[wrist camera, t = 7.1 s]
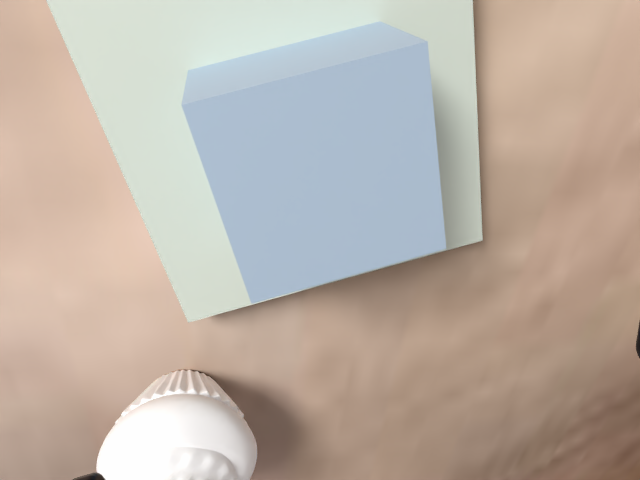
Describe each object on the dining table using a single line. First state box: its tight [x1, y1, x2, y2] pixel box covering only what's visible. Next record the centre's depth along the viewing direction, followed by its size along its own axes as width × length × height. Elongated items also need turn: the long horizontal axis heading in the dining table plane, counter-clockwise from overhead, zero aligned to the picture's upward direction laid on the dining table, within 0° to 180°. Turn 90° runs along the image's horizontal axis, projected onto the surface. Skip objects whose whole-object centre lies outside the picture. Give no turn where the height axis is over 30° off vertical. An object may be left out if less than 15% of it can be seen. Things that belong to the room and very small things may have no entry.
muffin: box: [97, 370, 257, 480], centre depth 20 cm, size 6×6×7 cm
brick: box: [181, 21, 446, 304], centre depth 15 cm, size 6×6×4 cm
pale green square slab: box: [46, 0, 483, 322], centre depth 18 cm, size 12×12×2 cm
